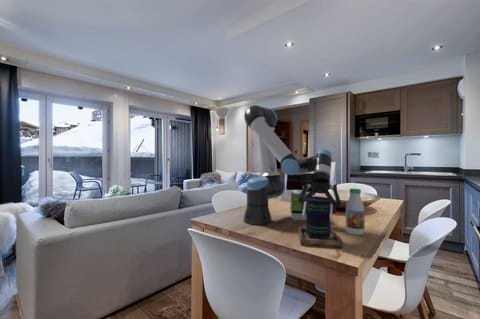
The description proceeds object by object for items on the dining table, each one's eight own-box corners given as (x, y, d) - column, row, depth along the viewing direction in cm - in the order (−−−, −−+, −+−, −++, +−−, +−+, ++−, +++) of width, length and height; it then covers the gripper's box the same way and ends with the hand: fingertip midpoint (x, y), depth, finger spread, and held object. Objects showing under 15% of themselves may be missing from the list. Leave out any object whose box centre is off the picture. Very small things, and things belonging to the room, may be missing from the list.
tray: (300, 245, 88) (300, 238, 88) (298, 232, 103) (298, 227, 103) (341, 248, 85) (341, 241, 85) (333, 235, 100) (333, 229, 100)
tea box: (289, 213, 139) (289, 189, 139) (306, 214, 138) (306, 189, 138) (291, 219, 124) (292, 193, 124) (310, 220, 123) (310, 193, 123)
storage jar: (300, 233, 95) (300, 197, 95) (315, 228, 101) (315, 195, 101) (321, 240, 87) (321, 201, 87) (335, 235, 93) (335, 199, 93)
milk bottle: (341, 231, 105) (342, 188, 105) (353, 229, 108) (353, 187, 108) (356, 236, 98) (356, 190, 98) (368, 234, 101) (368, 189, 101)
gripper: (348, 182, 103) (347, 226, 89) (298, 180, 113) (290, 219, 99) (348, 171, 98) (347, 216, 84) (296, 170, 108) (287, 209, 94)
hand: (317, 217), depth 91 cm, fingers closed on storage jar, 10 cm apart
